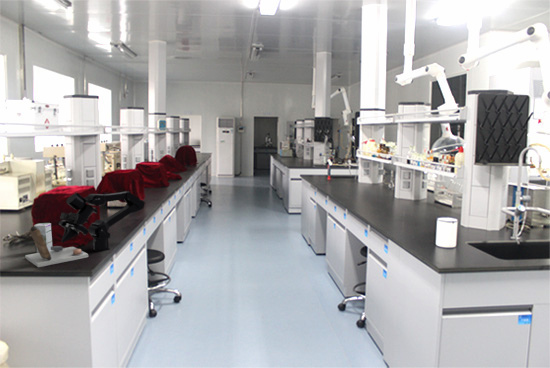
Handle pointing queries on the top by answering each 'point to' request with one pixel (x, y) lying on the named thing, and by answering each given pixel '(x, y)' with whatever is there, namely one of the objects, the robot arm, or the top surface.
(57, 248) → the grey rectangular block
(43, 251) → the walnut lever
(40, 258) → the control panel
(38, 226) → the syrup box
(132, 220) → the top surface
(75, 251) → the terracotta button
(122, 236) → the top surface
